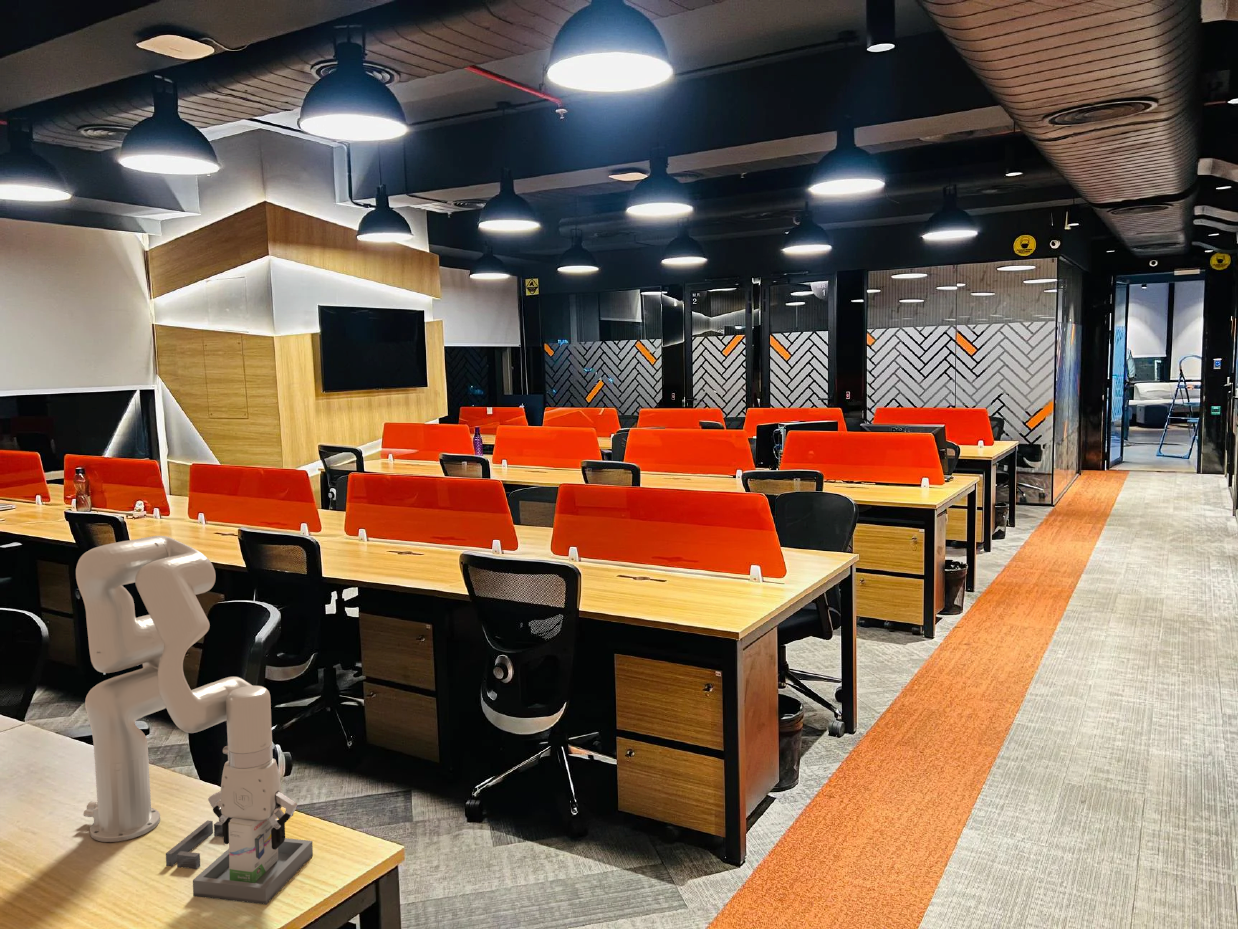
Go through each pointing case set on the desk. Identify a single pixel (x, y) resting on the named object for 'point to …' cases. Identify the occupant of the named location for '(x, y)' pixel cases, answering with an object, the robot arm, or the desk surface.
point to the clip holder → (192, 846)
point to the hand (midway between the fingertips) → (254, 843)
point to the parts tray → (265, 888)
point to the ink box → (250, 849)
